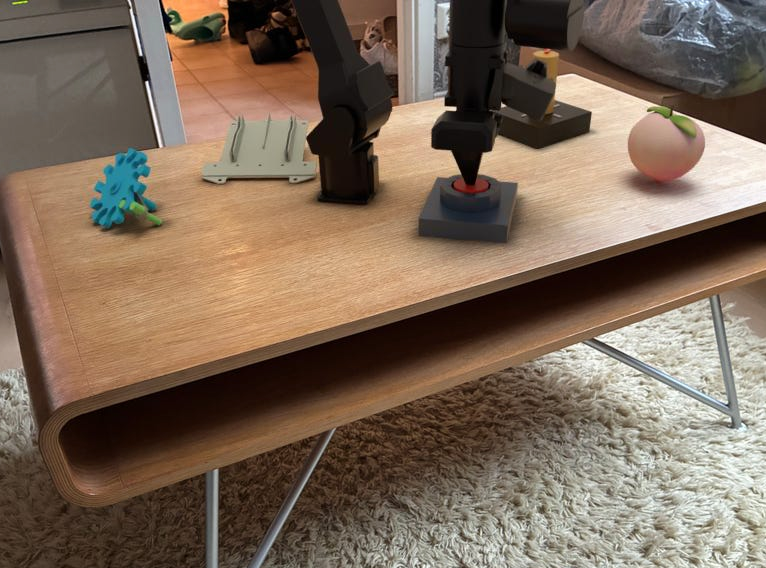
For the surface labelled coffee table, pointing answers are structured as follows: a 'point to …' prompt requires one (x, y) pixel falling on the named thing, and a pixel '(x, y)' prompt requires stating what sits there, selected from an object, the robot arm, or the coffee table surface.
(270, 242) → the coffee table surface
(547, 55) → the yellow cylinder
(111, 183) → the gear
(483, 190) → the release button
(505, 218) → the block
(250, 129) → the metal bracket
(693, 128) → the decorative fruit
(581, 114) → the dark brown square base
